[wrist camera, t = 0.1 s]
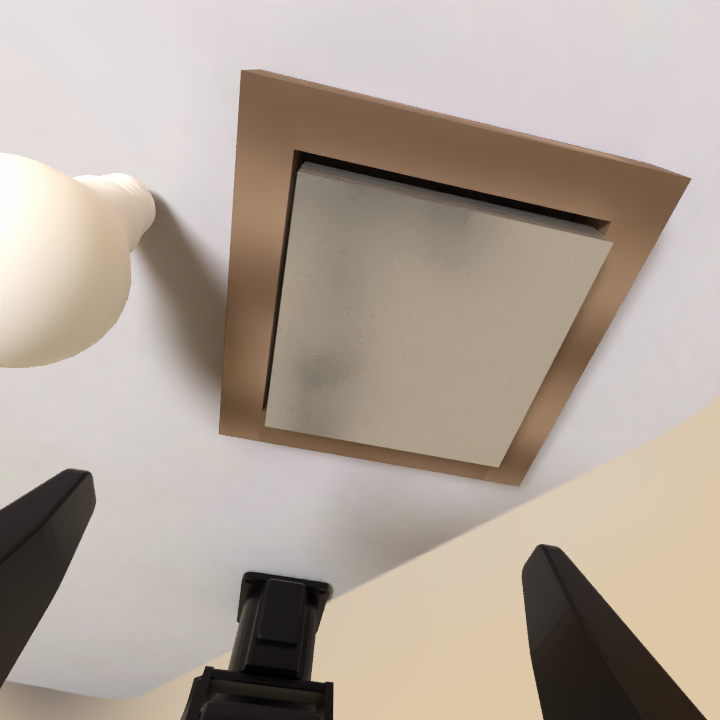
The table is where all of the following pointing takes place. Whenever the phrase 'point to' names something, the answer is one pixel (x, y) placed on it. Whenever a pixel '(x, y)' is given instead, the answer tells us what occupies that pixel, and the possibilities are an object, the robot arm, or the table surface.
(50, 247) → the lightbulb
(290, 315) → the platform
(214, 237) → the table surface
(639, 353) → the table surface
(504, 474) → the brown picture frame
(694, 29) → the table surface
